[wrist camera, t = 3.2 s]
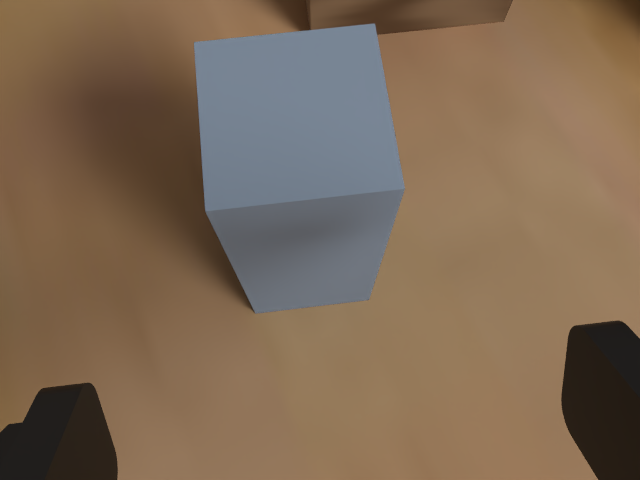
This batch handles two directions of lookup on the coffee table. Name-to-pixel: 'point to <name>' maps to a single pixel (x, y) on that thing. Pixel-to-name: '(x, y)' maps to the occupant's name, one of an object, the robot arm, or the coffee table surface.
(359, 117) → the slate pillar
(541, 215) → the coffee table surface
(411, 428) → the coffee table surface
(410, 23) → the walnut slab
